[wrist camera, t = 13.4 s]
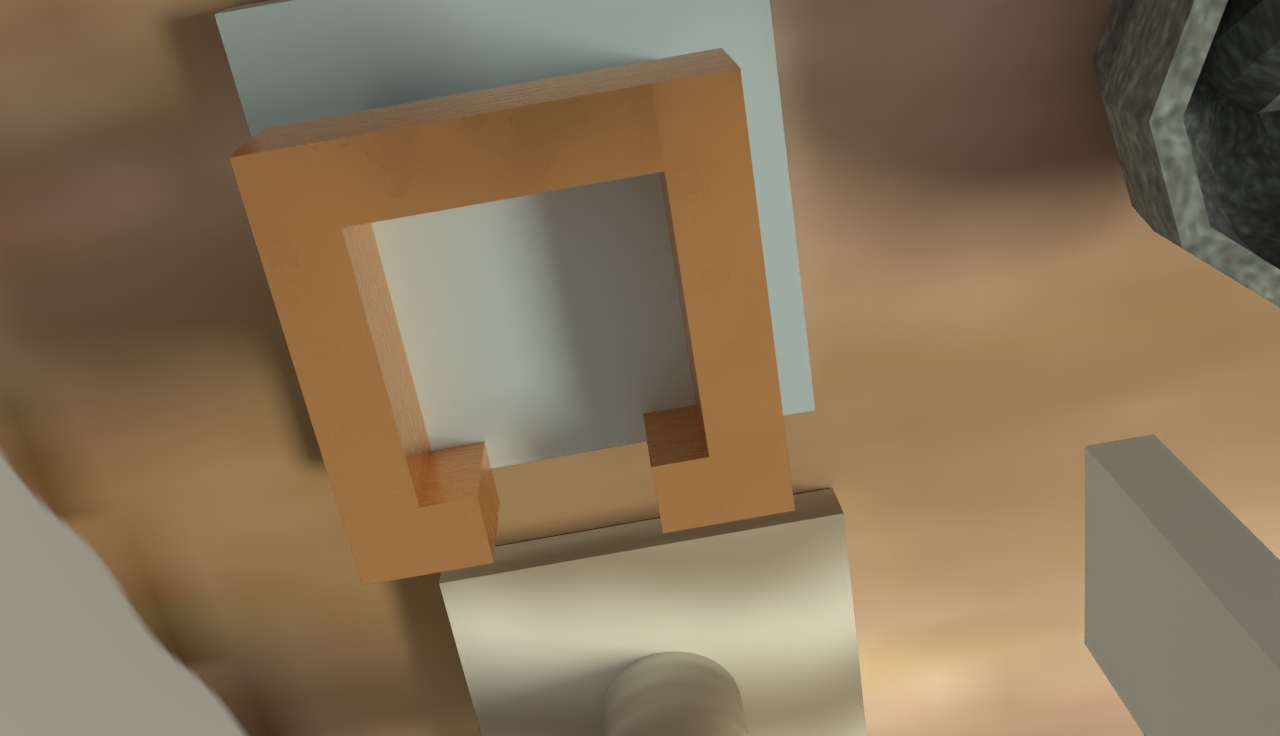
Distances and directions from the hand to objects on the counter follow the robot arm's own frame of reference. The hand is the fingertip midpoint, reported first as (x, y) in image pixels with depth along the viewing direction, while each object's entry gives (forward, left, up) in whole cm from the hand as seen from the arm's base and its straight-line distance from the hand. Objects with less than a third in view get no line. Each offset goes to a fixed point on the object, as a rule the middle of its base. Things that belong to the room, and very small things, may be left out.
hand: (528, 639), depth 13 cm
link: (0, 0, -12) cm, 12 cm away
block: (0, 0, -19) cm, 19 cm away
